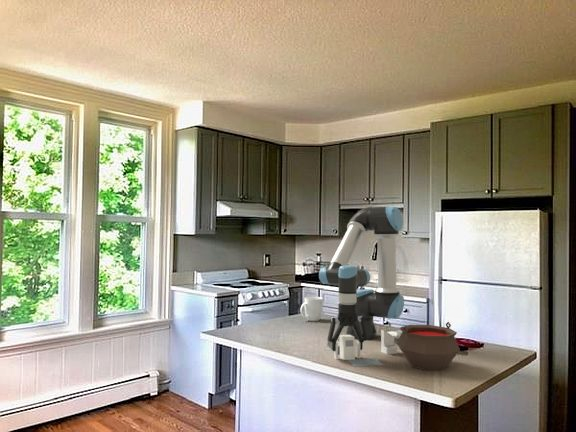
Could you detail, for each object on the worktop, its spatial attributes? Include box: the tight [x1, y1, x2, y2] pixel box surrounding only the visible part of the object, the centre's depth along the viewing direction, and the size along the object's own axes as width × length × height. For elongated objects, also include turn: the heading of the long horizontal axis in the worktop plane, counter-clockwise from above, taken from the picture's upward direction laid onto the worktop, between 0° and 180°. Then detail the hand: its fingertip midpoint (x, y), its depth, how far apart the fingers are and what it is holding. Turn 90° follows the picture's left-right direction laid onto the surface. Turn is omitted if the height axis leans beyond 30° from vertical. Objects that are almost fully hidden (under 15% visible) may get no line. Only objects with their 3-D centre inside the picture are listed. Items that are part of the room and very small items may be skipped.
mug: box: [299, 296, 324, 322], centre depth 267 cm, size 15×11×13 cm
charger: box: [339, 334, 356, 361], centre depth 187 cm, size 4×7×9 cm, turn 11°
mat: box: [346, 358, 384, 367], centre depth 180 cm, size 12×9×1 cm
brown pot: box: [396, 321, 461, 371], centre depth 179 cm, size 24×24×16 cm
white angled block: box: [380, 329, 398, 355], centre depth 196 cm, size 4×10×9 cm, turn 118°
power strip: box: [326, 338, 340, 355], centre depth 203 cm, size 5×20×4 cm, turn 11°
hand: (347, 358), depth 186 cm, fingers open, 9 cm apart
